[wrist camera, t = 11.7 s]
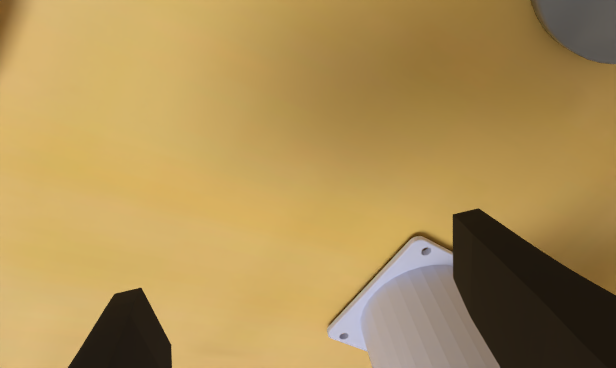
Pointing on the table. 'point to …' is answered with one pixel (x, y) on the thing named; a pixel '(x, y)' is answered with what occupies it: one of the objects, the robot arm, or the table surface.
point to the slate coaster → (581, 26)
